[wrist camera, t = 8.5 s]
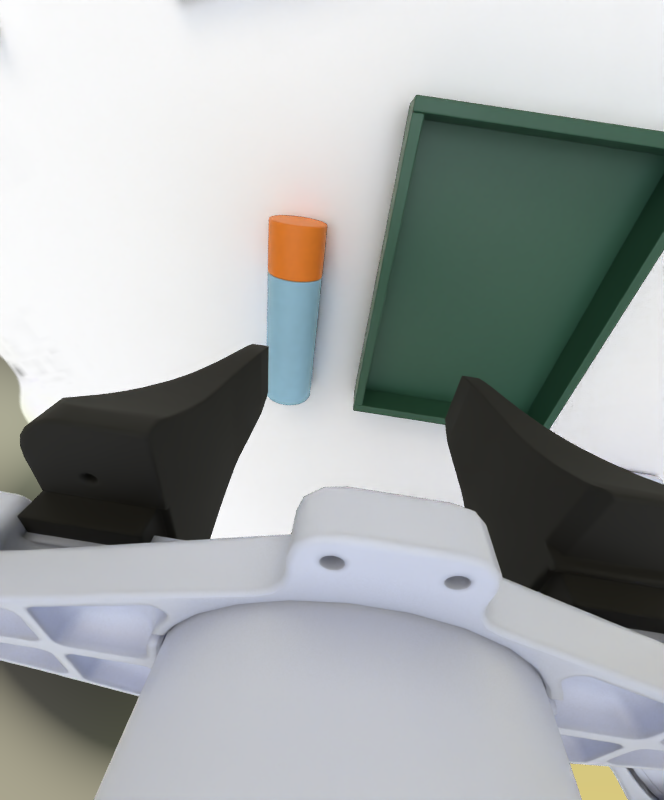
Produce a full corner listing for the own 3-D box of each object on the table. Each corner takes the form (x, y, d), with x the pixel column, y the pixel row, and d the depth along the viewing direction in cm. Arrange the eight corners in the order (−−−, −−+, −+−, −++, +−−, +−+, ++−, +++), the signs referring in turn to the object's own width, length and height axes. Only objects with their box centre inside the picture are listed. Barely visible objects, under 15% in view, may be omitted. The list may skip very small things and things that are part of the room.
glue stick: (290, 376, 24) (318, 395, 22) (257, 390, 22) (286, 411, 20) (300, 214, 18) (339, 225, 17) (256, 215, 16) (296, 227, 15)
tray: (529, 419, 23) (542, 440, 21) (354, 391, 23) (352, 410, 21) (688, 144, 15) (733, 141, 13) (410, 102, 15) (415, 94, 13)
